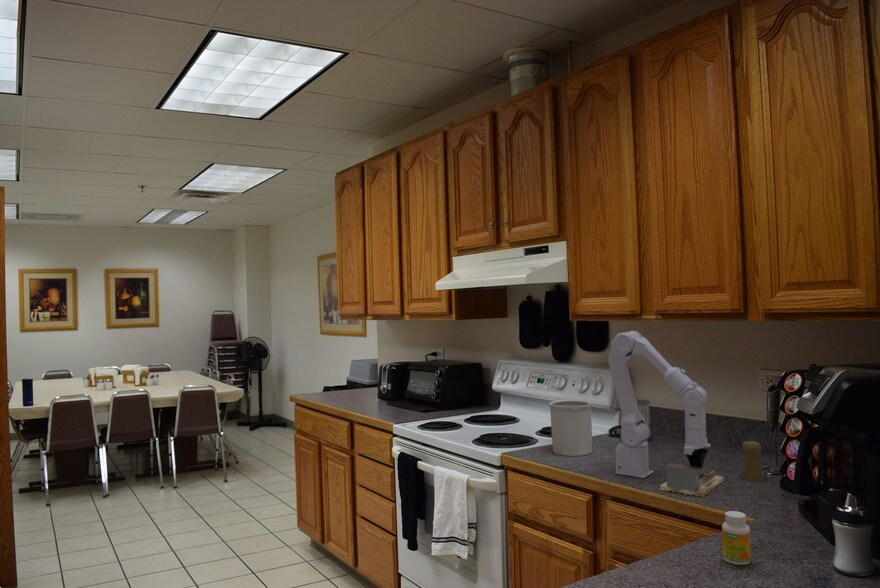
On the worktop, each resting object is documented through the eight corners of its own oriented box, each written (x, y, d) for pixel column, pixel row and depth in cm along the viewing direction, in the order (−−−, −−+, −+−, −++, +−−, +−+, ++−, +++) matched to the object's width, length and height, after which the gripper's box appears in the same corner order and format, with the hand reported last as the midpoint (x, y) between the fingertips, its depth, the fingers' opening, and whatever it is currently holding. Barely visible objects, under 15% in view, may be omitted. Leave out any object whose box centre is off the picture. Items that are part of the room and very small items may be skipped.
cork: (744, 474, 200) (743, 438, 200) (766, 477, 196) (765, 440, 196) (739, 479, 195) (738, 442, 195) (761, 482, 191) (760, 444, 191)
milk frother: (651, 443, 243) (650, 403, 243) (607, 441, 248) (606, 402, 248) (650, 435, 257) (649, 397, 257) (609, 433, 262) (608, 396, 262)
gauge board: (660, 489, 187) (659, 480, 187) (683, 474, 202) (683, 465, 202) (703, 497, 180) (703, 487, 179) (724, 480, 194) (724, 471, 194)
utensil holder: (547, 455, 229) (546, 405, 229) (554, 445, 243) (552, 398, 243) (590, 458, 225) (589, 406, 224) (594, 447, 239) (593, 399, 239)
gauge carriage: (680, 481, 190) (680, 469, 190) (686, 477, 194) (686, 465, 194) (708, 485, 185) (707, 473, 185) (713, 481, 189) (713, 469, 189)
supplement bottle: (723, 563, 137) (722, 517, 137) (722, 553, 142) (720, 508, 142) (752, 566, 135) (750, 519, 135) (749, 556, 140) (748, 511, 140)
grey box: (666, 486, 186) (666, 465, 186) (670, 484, 188) (670, 463, 188) (695, 491, 181) (695, 469, 181) (699, 489, 183) (698, 467, 183)
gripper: (701, 434, 185) (702, 482, 185) (717, 425, 196) (718, 470, 196) (676, 431, 190) (677, 478, 190) (693, 422, 201) (694, 467, 201)
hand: (696, 474), depth 193 cm, fingers closed
